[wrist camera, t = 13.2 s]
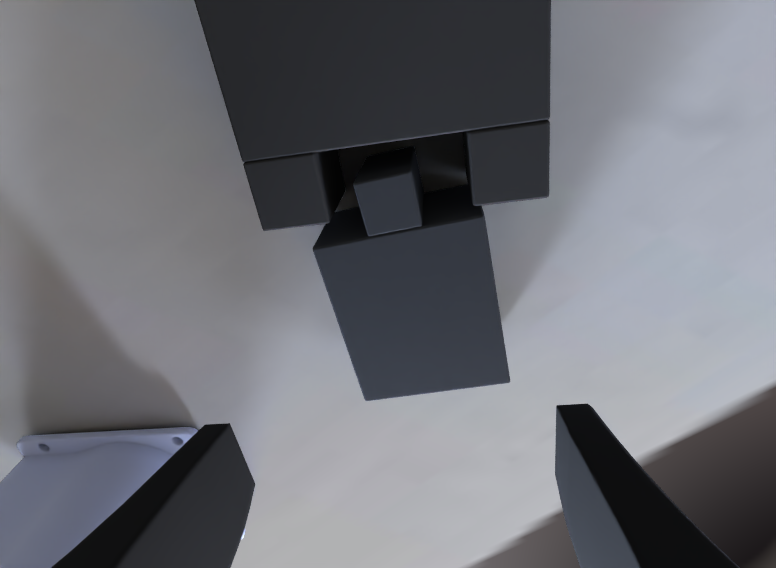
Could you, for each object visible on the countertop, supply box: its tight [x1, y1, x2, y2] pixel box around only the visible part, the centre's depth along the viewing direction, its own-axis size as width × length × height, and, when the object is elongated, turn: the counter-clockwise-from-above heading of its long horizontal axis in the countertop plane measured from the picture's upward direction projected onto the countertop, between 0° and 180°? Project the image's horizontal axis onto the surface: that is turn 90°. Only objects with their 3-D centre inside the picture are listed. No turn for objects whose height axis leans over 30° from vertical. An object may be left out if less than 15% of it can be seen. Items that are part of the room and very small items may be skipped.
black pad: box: [194, 0, 551, 231], centre depth 12 cm, size 8×8×3 cm
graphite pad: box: [313, 146, 510, 401], centre depth 16 cm, size 5×8×3 cm, turn 14°
